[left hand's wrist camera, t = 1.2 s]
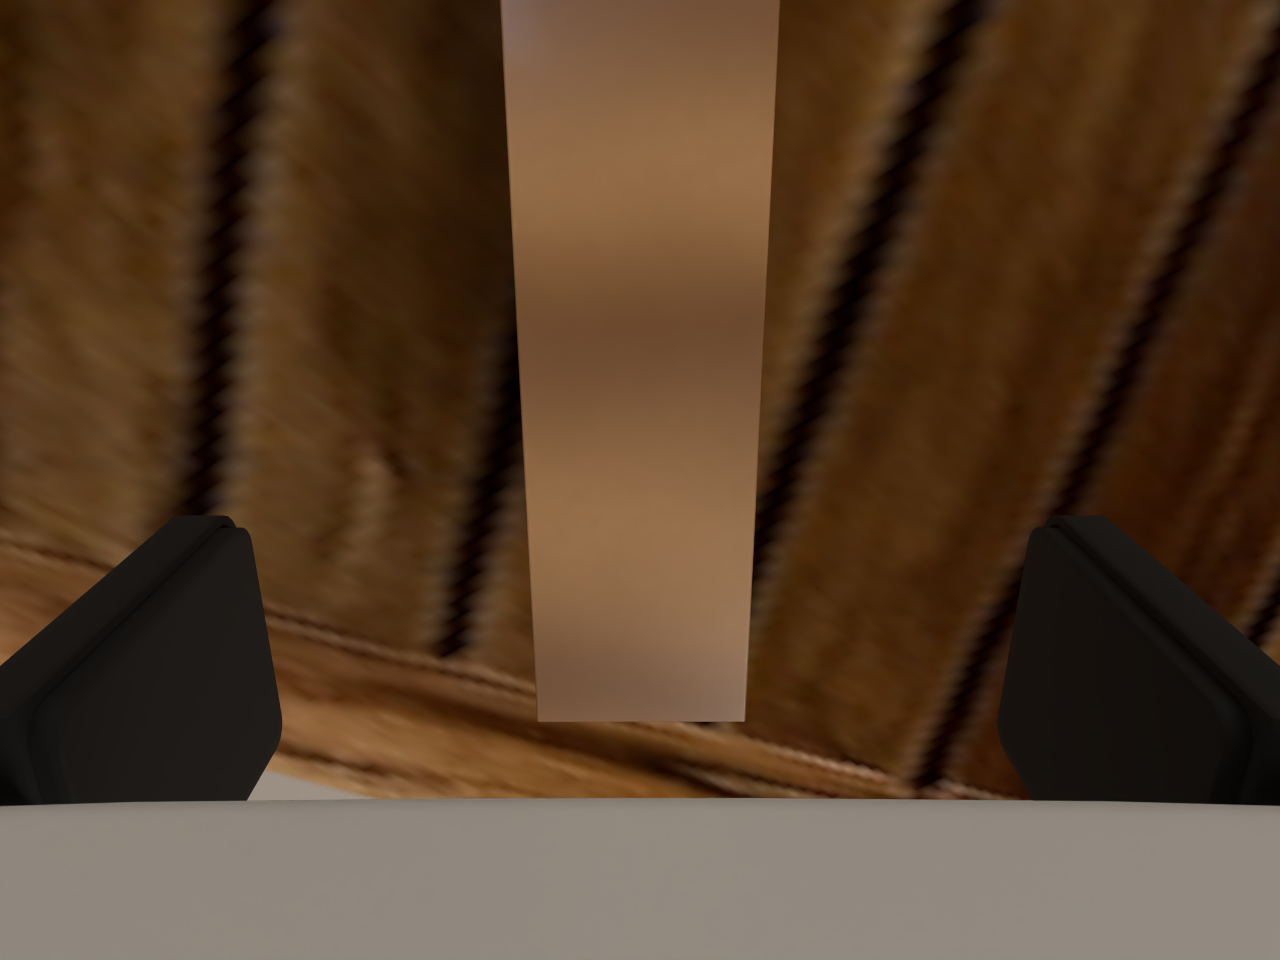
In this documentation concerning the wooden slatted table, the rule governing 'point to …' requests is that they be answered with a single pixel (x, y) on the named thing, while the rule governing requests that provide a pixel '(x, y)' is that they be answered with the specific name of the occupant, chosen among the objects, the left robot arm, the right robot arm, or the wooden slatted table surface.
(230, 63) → the wooden slatted table surface
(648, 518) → the post
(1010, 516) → the wooden slatted table surface
